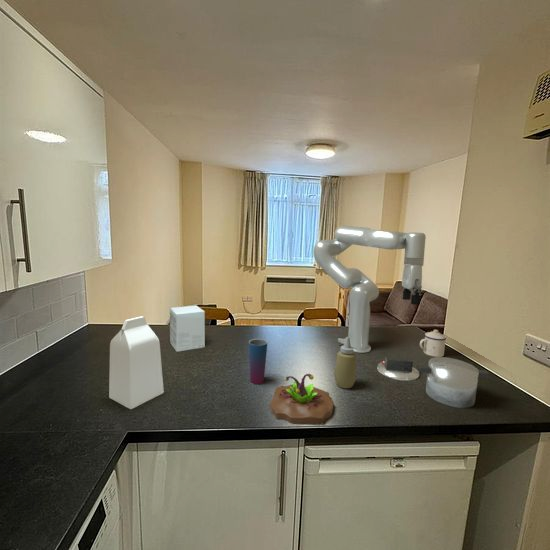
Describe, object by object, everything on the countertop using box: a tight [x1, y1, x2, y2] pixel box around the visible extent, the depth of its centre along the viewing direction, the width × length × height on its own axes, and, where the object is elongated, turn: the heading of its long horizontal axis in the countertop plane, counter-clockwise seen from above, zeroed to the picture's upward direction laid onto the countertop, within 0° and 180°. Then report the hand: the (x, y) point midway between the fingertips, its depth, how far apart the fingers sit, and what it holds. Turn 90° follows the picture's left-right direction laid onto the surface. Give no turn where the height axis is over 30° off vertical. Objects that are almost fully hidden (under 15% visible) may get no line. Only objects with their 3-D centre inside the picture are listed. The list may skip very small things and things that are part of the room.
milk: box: [108, 315, 165, 410], centre depth 100 cm, size 12×12×26 cm
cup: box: [248, 338, 269, 385], centre depth 113 cm, size 7×7×15 cm
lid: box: [376, 356, 420, 381], centre depth 126 cm, size 16×16×6 cm
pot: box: [416, 356, 490, 409], centre depth 108 cm, size 23×15×11 cm, turn 83°
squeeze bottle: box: [333, 336, 357, 389], centre depth 112 cm, size 8×8×18 cm
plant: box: [269, 373, 334, 425], centre depth 98 cm, size 20×20×11 cm
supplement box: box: [169, 304, 206, 353], centre depth 146 cm, size 13×13×18 cm
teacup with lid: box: [419, 329, 447, 358], centre depth 146 cm, size 12×9×12 cm
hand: (410, 301), depth 133 cm, fingers open, 9 cm apart
